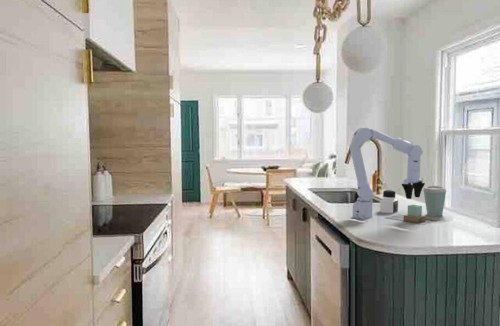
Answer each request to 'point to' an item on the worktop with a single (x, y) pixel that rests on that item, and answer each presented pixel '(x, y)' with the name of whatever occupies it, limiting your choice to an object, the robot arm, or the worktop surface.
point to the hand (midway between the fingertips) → (413, 198)
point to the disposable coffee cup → (434, 199)
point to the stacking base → (412, 219)
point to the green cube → (414, 210)
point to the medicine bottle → (389, 202)
